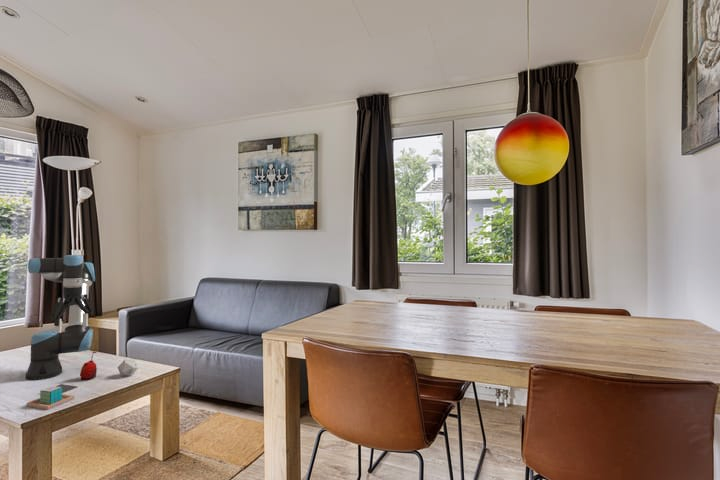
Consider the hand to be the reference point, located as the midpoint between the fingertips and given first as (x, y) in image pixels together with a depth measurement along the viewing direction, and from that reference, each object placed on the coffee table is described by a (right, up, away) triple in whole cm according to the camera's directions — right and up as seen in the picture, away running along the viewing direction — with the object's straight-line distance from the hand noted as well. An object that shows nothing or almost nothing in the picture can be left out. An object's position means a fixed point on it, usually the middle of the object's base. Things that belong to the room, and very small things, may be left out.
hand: (72, 329), depth 193 cm
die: (+17, -29, +18) cm, 38 cm away
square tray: (+4, -29, -18) cm, 34 cm away
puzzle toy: (+4, -28, -18) cm, 34 cm away
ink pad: (-1, -28, -6) cm, 29 cm away
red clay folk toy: (0, -29, +12) cm, 31 cm away
